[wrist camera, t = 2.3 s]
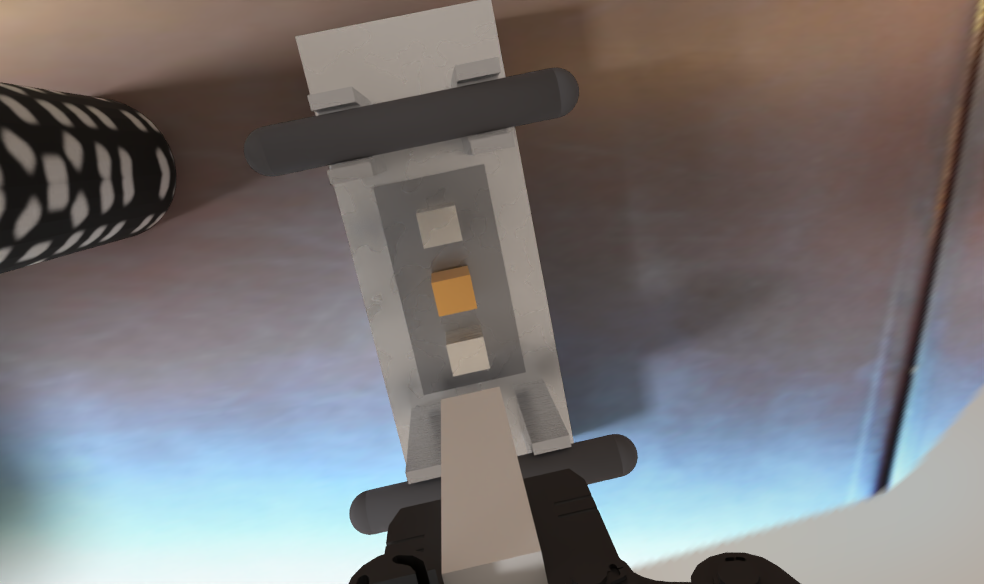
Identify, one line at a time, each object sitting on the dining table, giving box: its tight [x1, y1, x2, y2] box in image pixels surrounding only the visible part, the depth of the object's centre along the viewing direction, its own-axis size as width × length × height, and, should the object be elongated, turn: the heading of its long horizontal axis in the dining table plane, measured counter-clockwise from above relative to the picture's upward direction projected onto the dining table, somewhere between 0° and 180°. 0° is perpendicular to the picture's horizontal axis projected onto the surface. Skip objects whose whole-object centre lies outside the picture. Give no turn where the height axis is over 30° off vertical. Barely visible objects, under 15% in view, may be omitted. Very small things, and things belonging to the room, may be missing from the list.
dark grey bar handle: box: [350, 434, 638, 535], centre depth 30 cm, size 14×2×2 cm, turn 101°
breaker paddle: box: [431, 265, 477, 317], centre depth 33 cm, size 2×2×3 cm
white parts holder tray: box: [295, 0, 574, 484], centre depth 34 cm, size 10×28×13 cm, turn 11°
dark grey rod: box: [244, 68, 579, 176], centre depth 26 cm, size 14×2×2 cm, turn 101°
